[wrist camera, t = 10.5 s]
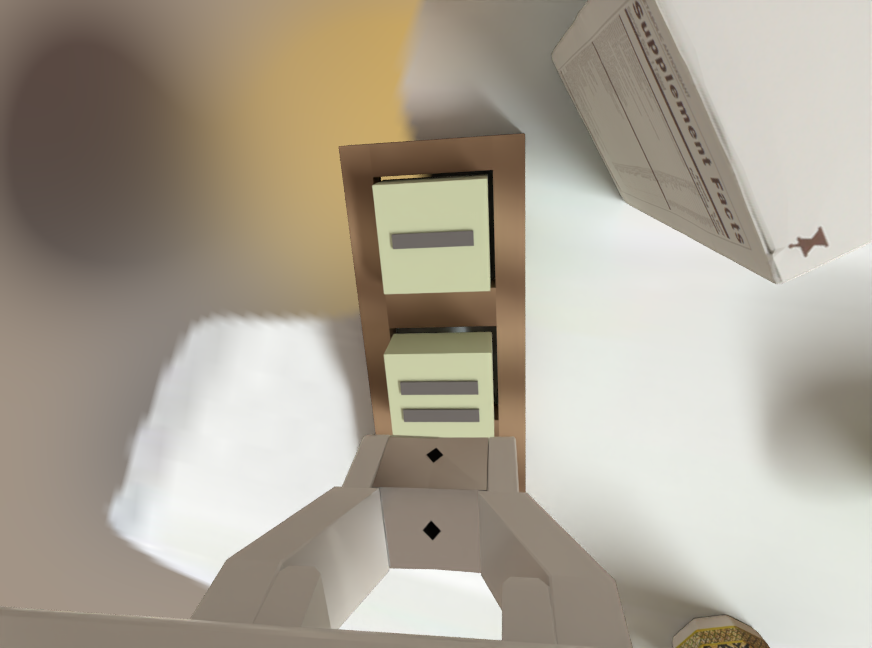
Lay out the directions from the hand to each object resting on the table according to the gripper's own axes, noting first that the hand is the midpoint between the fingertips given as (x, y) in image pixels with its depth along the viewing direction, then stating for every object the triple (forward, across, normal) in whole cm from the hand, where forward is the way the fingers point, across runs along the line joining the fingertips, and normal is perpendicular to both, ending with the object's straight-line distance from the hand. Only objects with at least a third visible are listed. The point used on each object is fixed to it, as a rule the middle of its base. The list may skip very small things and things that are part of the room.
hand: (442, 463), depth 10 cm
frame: (+22, +2, +8) cm, 23 cm away
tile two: (+19, +2, +8) cm, 21 cm away
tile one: (+21, +2, -1) cm, 21 cm away
